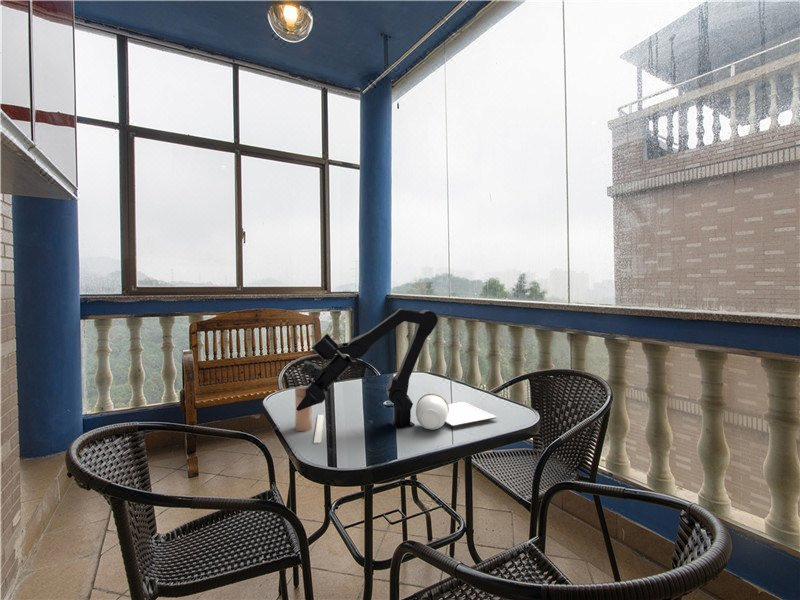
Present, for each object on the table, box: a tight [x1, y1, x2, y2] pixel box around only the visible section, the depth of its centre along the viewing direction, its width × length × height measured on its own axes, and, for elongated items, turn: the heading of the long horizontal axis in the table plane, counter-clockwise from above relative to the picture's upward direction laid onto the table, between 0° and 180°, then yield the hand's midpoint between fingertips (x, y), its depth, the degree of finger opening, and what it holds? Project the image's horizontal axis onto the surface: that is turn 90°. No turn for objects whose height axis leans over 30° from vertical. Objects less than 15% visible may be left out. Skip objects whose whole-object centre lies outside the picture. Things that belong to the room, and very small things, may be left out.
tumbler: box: [294, 385, 313, 433], centre depth 126 cm, size 5×5×13 cm
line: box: [313, 414, 325, 445], centre depth 126 cm, size 24×2×1 cm, turn 9°
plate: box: [444, 401, 498, 428], centre depth 139 cm, size 19×19×2 cm
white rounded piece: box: [415, 393, 449, 431], centre depth 127 cm, size 11×11×9 cm
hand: (298, 405), depth 125 cm, fingers open, 9 cm apart
